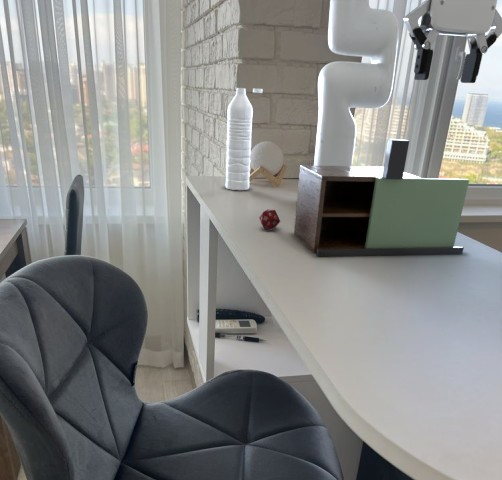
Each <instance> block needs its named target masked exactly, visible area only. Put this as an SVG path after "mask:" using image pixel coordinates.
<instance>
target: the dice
mask: <svg viewBox="0 0 502 480" xmlns="http://www.w3.org/2000/svg"><path fill="white" fill-rule="evenodd" d="M259 221H260V223H261V225H262V227H263V229H265V230H273V229H275V228H277V226H278V225H279V223H280V222H281V219H280V217H279V214H278V213H277V210H276V209H266V210H263V212H262V213H261V215H260V216H259Z"/></svg>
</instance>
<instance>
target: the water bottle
mask: <svg viewBox="0 0 502 480" xmlns="http://www.w3.org/2000/svg"><path fill="white" fill-rule="evenodd" d="M263 89H264V88H255V87H254V88H252V93H255V94H263V91H264V90H263ZM246 90H247V89H246V88H245V87H236V91H235V95H234V96H233V98H232V100H231V101H230V103H229V104H228V107H227V133H226V138H227V139H226V157H225V160H226V161H225V162H226V163H225V169H226V171H225V177H226V178H225V188H226V189H228V190H232V191H248V190H249V189H250V178H251V177H250V176H251V173H250V171H251V155H252V150H251V149H252V131H253V130H252V129H253V113H254V110H253V109H254V108H253V105H252V104H251V102H250V100H249V98H248V96H247V91H246Z"/></svg>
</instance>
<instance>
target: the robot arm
mask: <svg viewBox="0 0 502 480" xmlns="http://www.w3.org/2000/svg"><path fill="white" fill-rule="evenodd" d="M497 5H498V0H421V3H420V4H419V5H418V6H416V7H414V9H412V10H411V11H410V12H408V13H407V14H406V15H405V16H404V18H403V22H404V24H405V26H406V29H407V31H408V32H409V33H408V35H409V37H410V39H411V40H412V42H413V44H414V49H415V51H417V52H416V56H415V63H414V67H413V68H414V69H413V73H414V80H415V81H427V80H428V79H429V77H430V74H431V73H430V72H431V67H432V61H433V56H434V49H431V48H432V46H433V44H434V43H435V41H436V39H437V38H438V36H439V35H445V36H447V35H448V36H455V37H456V36H459V37H466V41H467V44H468V49H469V53H466V55H465V57H464V61H463V62H464V63H463V66H462V70H461V75H460V83H461V84H475V83H476V81H477V78H478V76H479V73H480V68H481V63H482V59H483V56H484V55H485V54H487V52H488V49H490V48H491V46H493V45H494V43H496V41H497V39H498V38H499V37H500V36H501V35H502V16H501V14H500V13H499V11H498V9H496V8H497ZM327 28H328V30H327V43H328V48H329V50H330V51H331V52H332V53H334V54H336V55H340V56H341V55H342V56H351V57H364V58H369V60H370V63H369V62H360V61H359V62H358V61H346V60H345V61H344V60H337V61H331V62H329V63H327V64H325V65H324V66H323V67H322V68H321V70H320V71H319V73H318V74H319V75H318V77H317V78H318V79H317V99H318V112H317V115H318V116H317V126H316V139H315V148H314V149H315V150H314V157H313V158H314V159H313V165H316V166H353V161H354V154H355V146H356V141H357V140H356V138H357V131H358V130H357V123H356V120H355V118H354V116H353V114H352V112H351V110H350V109H354V108H355V109H379V108H383V107H384V106H385V105H387V104H388V102H389V100H390V98H391V95H392V91H393V87H394V79H395V70H396V63H397V62H396V61H397V54H398V47H399V36H400V27H399V21H398V18H397V16H396V14H395V13H394V12H392V11H391V10H387V9H383V8H382V9H381V8H371V6H370V0H330V1H329V15H328V27H327ZM486 33H487V34H486ZM483 54H484V55H483Z"/></svg>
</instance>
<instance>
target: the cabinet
mask: <svg viewBox="0 0 502 480" xmlns="http://www.w3.org/2000/svg"><path fill="white" fill-rule="evenodd" d="M383 168H384V166H360V165H359V166H353V165H352V166H316V165H314V164H312V165H310V164H306V165H305V164H301V165H299V175H298V186H297V195H296V196H297V197H296V207H295V208H296V209H295V217H294V229H293V230H294V231H293V236H295V238H297V239H298V240H299V241H300V242H301V243H302V244H303V245H305V246H306V248H308V249H309V250H310V251H311V252H312V253H313V254H316V257H365V256H367V257H368V256H369V257H370V256H373V257H374V256H423V255H425V256H427V255H463V252H464V248H465V247H463V246H454V247H423V248H365V244H366V237H367V231H368V224H369V218H370V211H371V205H372V199H373V192H374V186H375V179H376V177H381V178H382V175H383ZM403 178H421V177H420V176H417V175H415V174H411V173H408V172H405V171H404V174H403Z"/></svg>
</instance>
